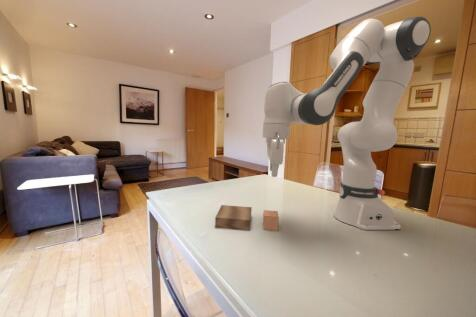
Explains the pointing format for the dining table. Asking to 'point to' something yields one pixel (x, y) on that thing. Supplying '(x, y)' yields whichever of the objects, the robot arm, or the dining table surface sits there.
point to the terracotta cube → (270, 220)
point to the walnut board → (233, 217)
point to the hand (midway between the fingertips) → (273, 173)
